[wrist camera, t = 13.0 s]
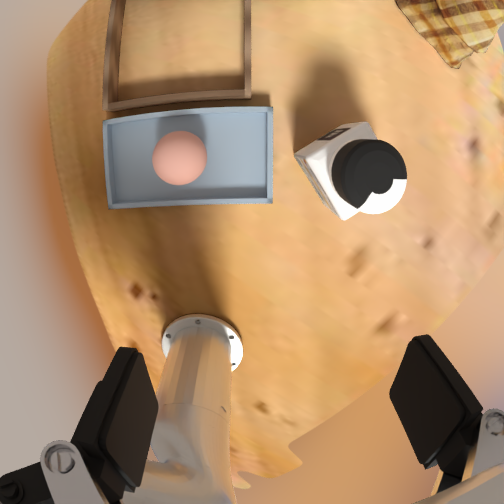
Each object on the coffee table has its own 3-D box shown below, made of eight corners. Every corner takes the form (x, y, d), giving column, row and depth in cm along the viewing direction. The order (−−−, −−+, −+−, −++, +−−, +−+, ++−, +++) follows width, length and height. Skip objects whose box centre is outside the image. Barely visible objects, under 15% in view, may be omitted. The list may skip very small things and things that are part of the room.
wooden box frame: (250, 99, 31) (251, 95, 28) (112, 111, 30) (102, 110, 28) (250, -21, 24) (250, -32, 21) (122, -5, 24) (114, -13, 21)
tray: (270, 199, 35) (272, 203, 33) (115, 205, 35) (108, 209, 33) (271, 109, 31) (272, 106, 29) (110, 121, 31) (102, 120, 29)
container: (292, 154, 33) (319, 161, 21) (343, 123, 32) (393, 117, 20) (324, 206, 36) (362, 239, 24) (372, 175, 34) (428, 195, 22)
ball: (211, 180, 33) (203, 187, 28) (162, 182, 33) (146, 190, 28) (210, 130, 31) (201, 127, 26) (160, 134, 31) (143, 132, 26)
